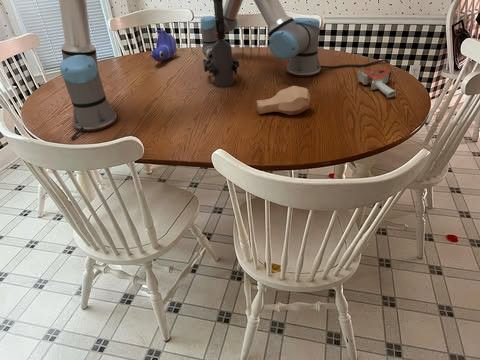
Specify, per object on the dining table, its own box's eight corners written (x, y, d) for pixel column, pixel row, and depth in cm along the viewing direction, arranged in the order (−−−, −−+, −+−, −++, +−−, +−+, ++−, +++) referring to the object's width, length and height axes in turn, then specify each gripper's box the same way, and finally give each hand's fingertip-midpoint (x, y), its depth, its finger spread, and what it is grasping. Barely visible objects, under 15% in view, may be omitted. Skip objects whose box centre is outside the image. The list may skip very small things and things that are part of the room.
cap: (220, 35, 149) (219, 31, 148) (227, 36, 147) (226, 32, 146) (214, 37, 147) (213, 33, 146) (221, 38, 145) (220, 34, 144)
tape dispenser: (391, 103, 136) (403, 82, 149) (394, 90, 133) (407, 70, 145) (346, 93, 144) (362, 74, 156) (348, 81, 140) (364, 62, 153)
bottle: (217, 88, 155) (213, 37, 142) (213, 81, 161) (208, 33, 149) (236, 84, 157) (233, 35, 144) (230, 78, 163) (227, 30, 151)
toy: (165, 61, 201) (145, 67, 179) (160, 29, 194) (139, 31, 172) (181, 61, 199) (163, 66, 177) (177, 28, 192) (158, 30, 170)
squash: (314, 116, 128) (313, 95, 122) (259, 125, 130) (256, 105, 124) (308, 99, 136) (307, 78, 129) (257, 108, 138) (253, 88, 131)
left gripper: (228, -26, 127) (232, 42, 141) (222, -31, 141) (227, 31, 155) (207, -24, 126) (213, 44, 140) (204, -29, 140) (210, 33, 154)
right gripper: (236, 61, 173) (249, 76, 155) (194, 67, 169) (202, 83, 152) (236, 45, 169) (249, 59, 151) (191, 51, 165) (200, 66, 147)
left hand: (220, 37), depth 147 cm, fingers open, 4 cm apart
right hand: (225, 71), depth 151 cm, fingers closed on bottle, 8 cm apart
